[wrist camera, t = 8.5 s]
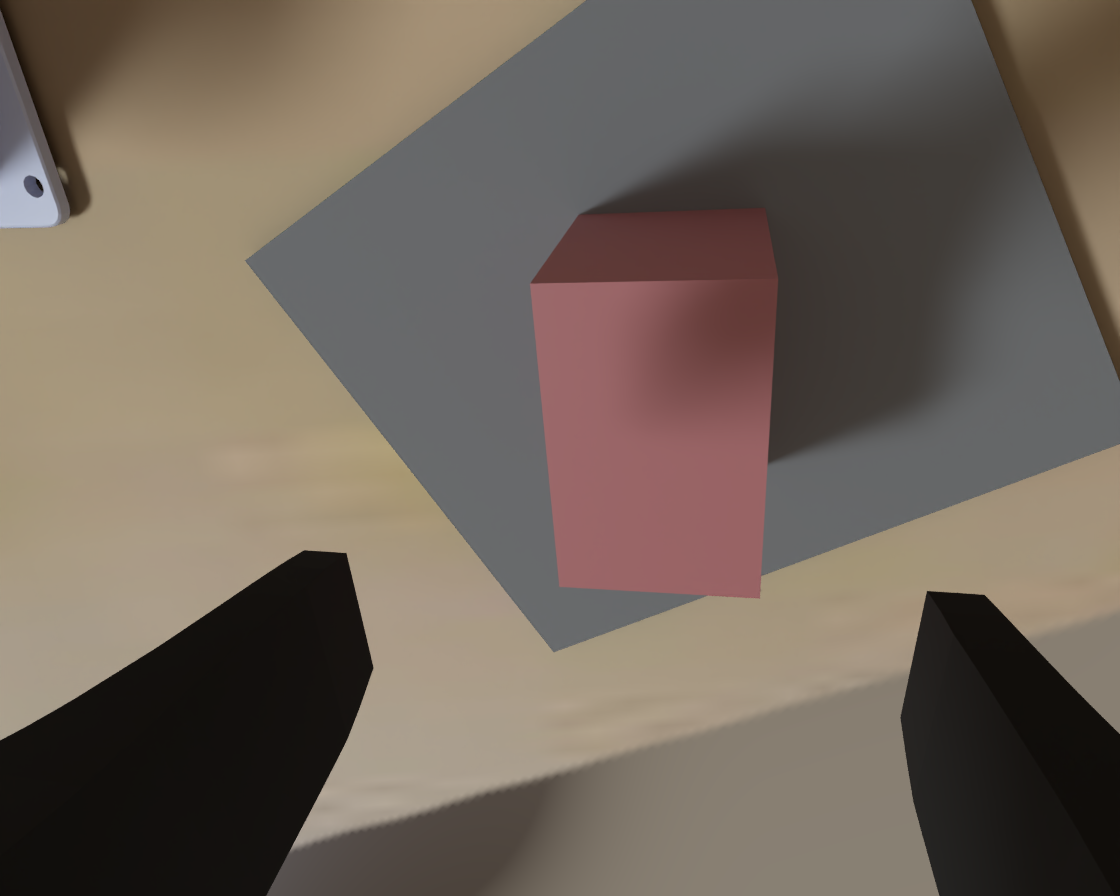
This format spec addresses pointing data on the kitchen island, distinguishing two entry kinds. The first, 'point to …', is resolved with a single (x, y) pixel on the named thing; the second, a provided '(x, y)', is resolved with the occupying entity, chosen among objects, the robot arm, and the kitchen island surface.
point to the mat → (799, 251)
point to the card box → (658, 398)
